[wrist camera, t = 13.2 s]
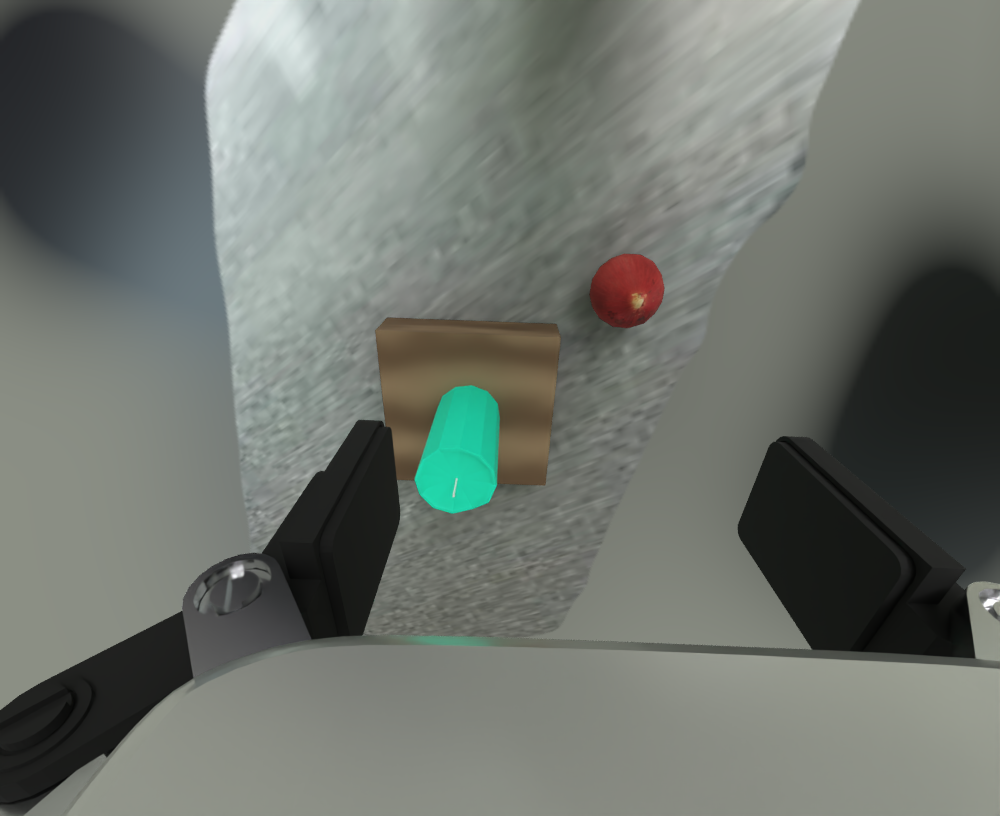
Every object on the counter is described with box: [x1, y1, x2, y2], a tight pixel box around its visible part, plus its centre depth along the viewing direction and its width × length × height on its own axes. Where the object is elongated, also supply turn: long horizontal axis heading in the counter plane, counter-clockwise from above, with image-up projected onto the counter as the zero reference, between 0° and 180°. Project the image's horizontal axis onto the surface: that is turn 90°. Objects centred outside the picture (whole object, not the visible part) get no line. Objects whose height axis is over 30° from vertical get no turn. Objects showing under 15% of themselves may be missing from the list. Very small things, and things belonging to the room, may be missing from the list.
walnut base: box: [375, 318, 561, 485], centre depth 42 cm, size 16×16×4 cm
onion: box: [590, 254, 664, 328], centre depth 34 cm, size 6×6×8 cm
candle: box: [415, 385, 500, 514], centre depth 35 cm, size 6×6×12 cm
